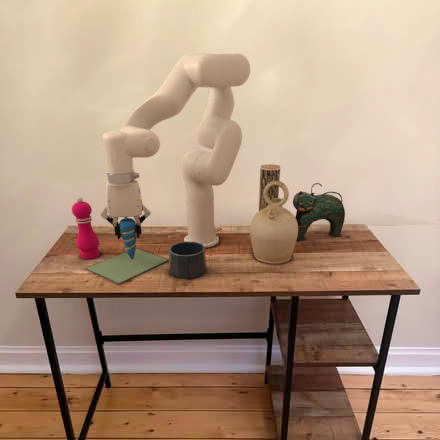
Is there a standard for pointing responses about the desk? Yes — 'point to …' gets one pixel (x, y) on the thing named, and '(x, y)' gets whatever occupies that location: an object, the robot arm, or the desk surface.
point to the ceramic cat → (318, 211)
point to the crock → (187, 259)
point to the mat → (126, 266)
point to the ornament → (128, 235)
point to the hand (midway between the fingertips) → (128, 236)
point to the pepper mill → (85, 230)
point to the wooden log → (267, 176)
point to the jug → (274, 229)
